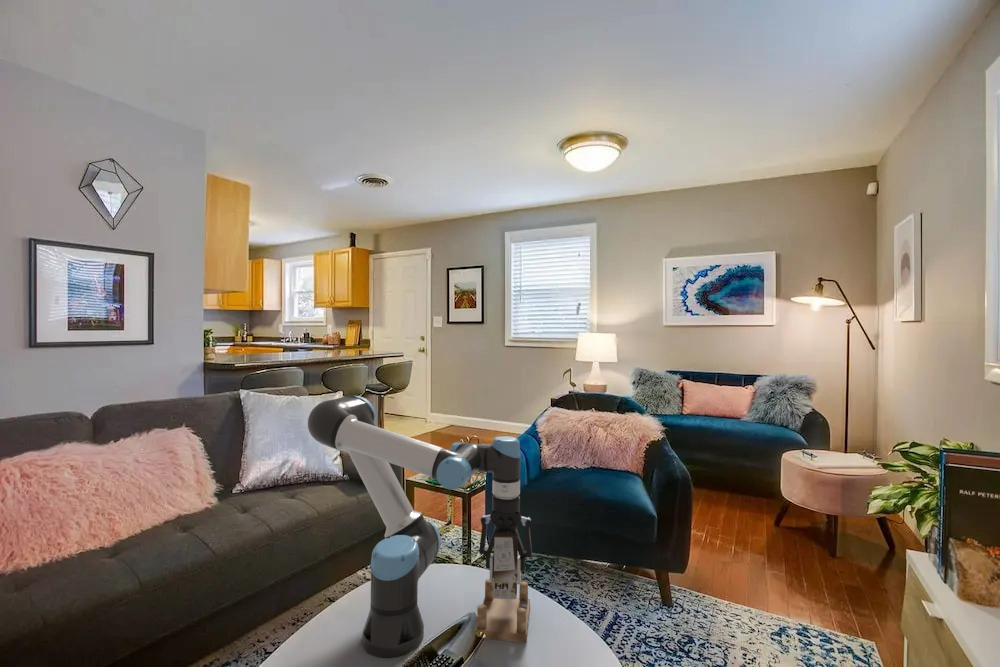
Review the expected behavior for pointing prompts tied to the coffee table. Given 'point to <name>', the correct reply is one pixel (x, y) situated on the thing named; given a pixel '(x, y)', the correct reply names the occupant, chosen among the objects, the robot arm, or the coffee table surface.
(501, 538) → the coffee box
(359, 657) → the coffee table surface
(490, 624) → the wooden peg stand
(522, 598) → the rounded tan peg
